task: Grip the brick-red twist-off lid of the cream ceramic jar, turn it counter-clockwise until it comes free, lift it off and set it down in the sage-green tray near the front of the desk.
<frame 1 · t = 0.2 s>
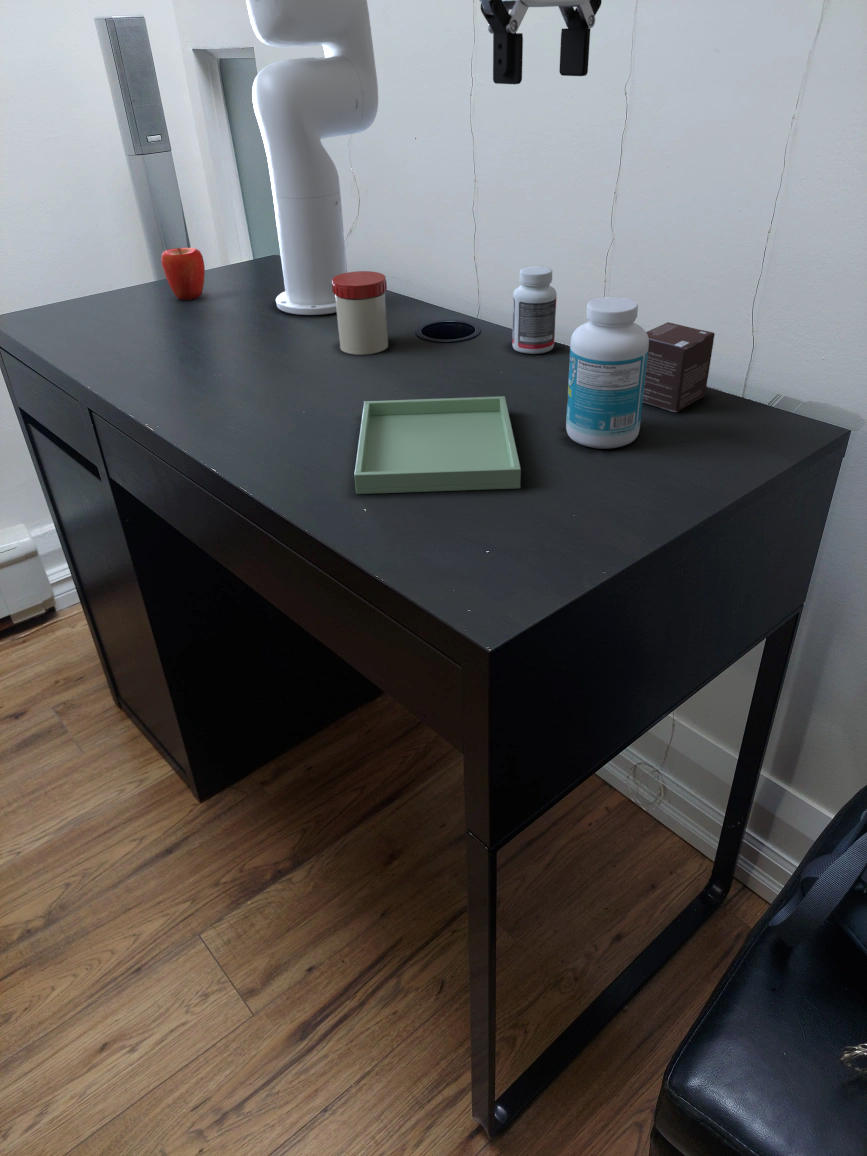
hand: (541, 79, 82), 31 cm above the table, tool pointing down, fingers open, 9 cm apart
jar: (364, 346, 111), on the table
apple: (189, 298, 133), on the table
cap: (359, 280, 107), point 8 cm above the table, screwed on, not yet turned
tray: (436, 450, 85), on the table
box: (667, 400, 94), on the table
pill bottle: (533, 349, 109), on the table
pill bottle 2: (601, 437, 87), on the table
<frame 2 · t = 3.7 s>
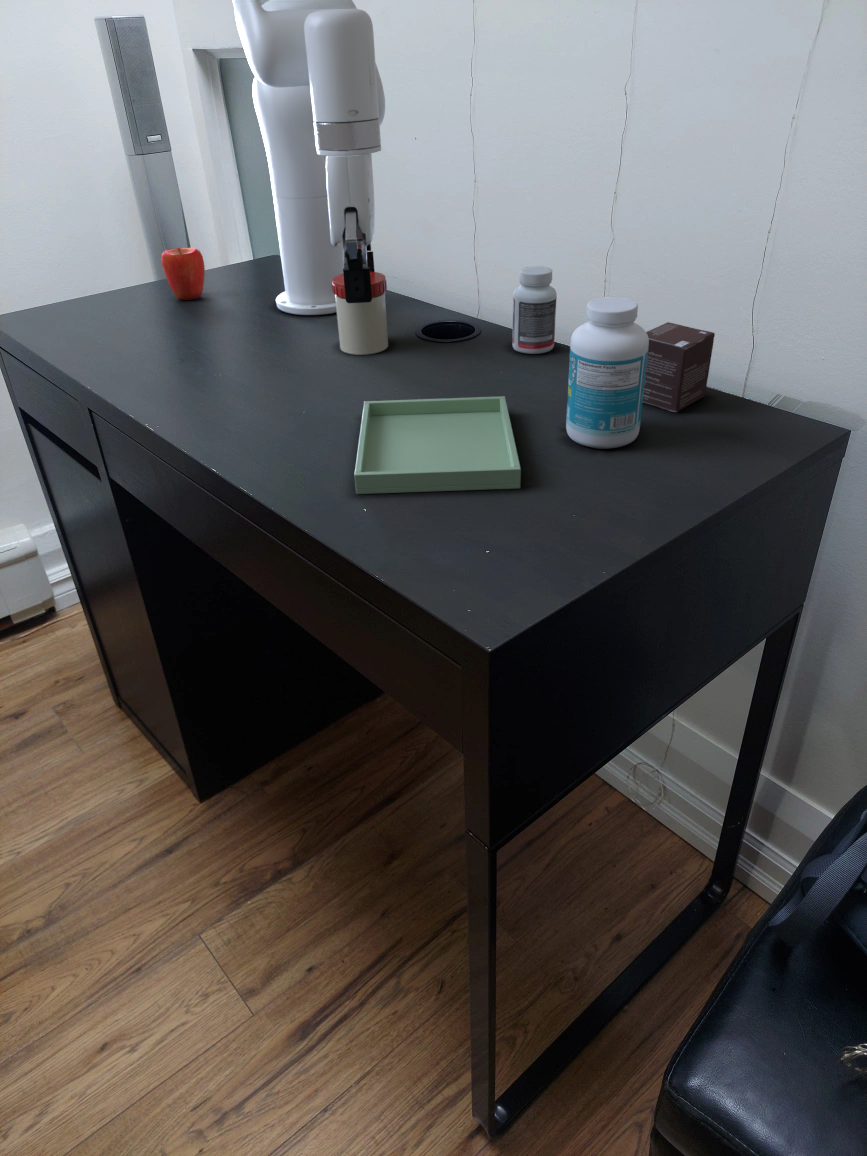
hand: (361, 292, 107), 7 cm above the table, tool pointing down, fingers open, 7 cm apart
nothing on the table moved.
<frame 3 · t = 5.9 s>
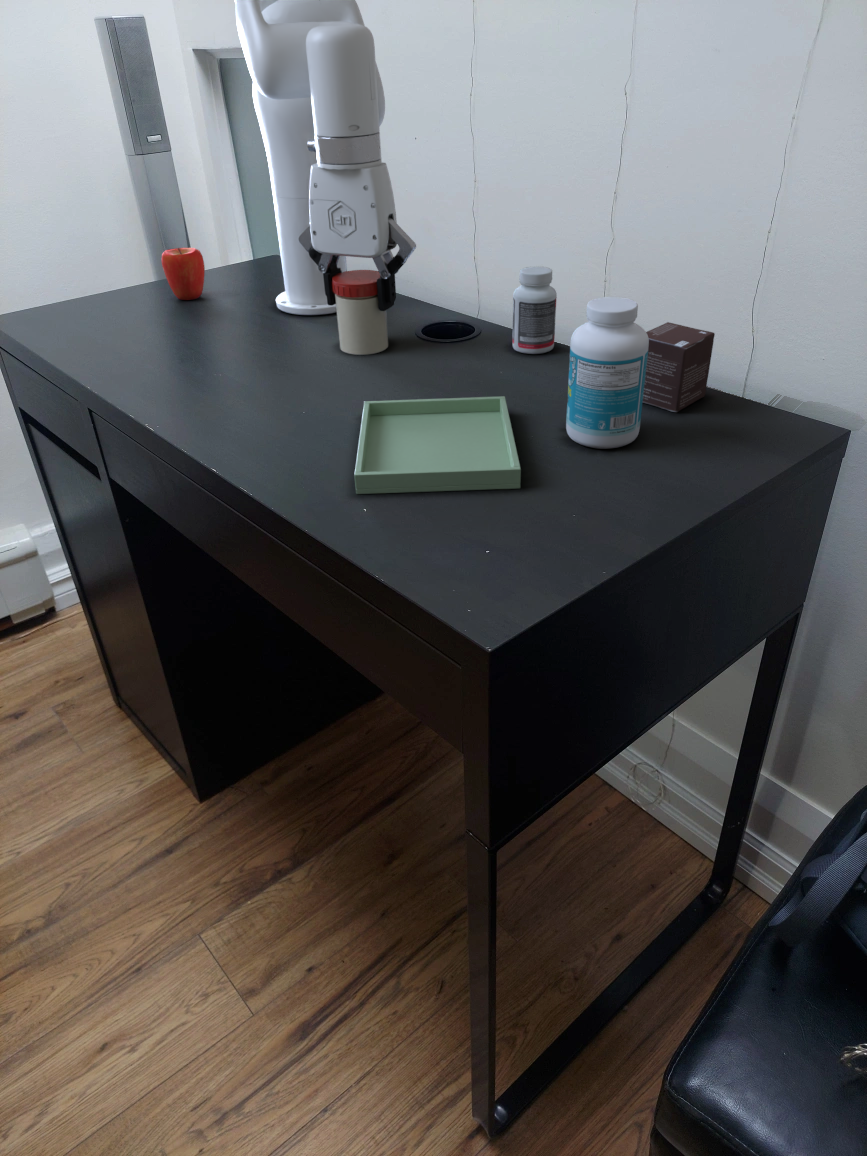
hand: (360, 304, 108), 6 cm above the table, tool pointing down, fingers closed on cap, 6 cm apart
cap: (358, 279, 107), point 9 cm above the table, turned 65° so far, risen 0.2 cm, still on its thread, touching gripper
everything else where it was.
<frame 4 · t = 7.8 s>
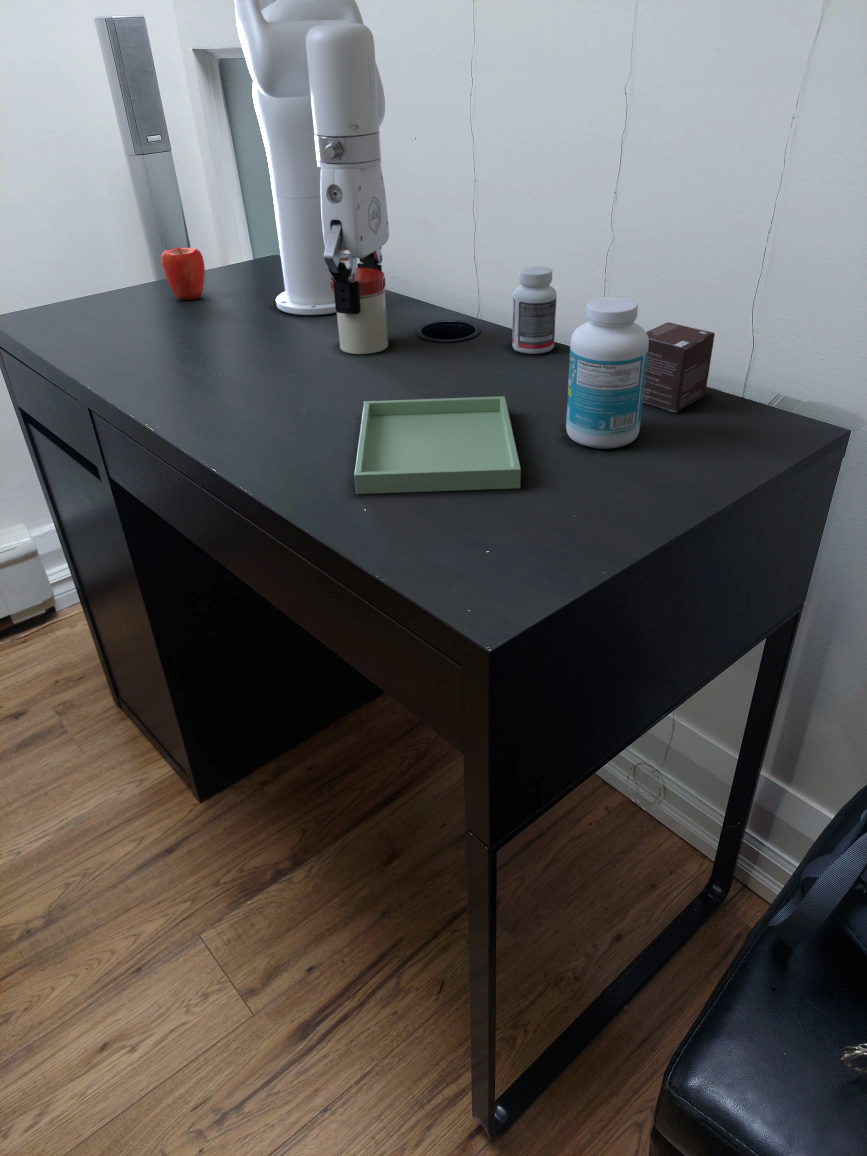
hand: (360, 302, 108), 6 cm above the table, tool pointing down, fingers closed on cap, 6 cm apart
jar: (364, 346, 111), on the table, touching gripper
cap: (357, 277, 107), point 9 cm above the table, off its thread, touching gripper
everything else where it was.
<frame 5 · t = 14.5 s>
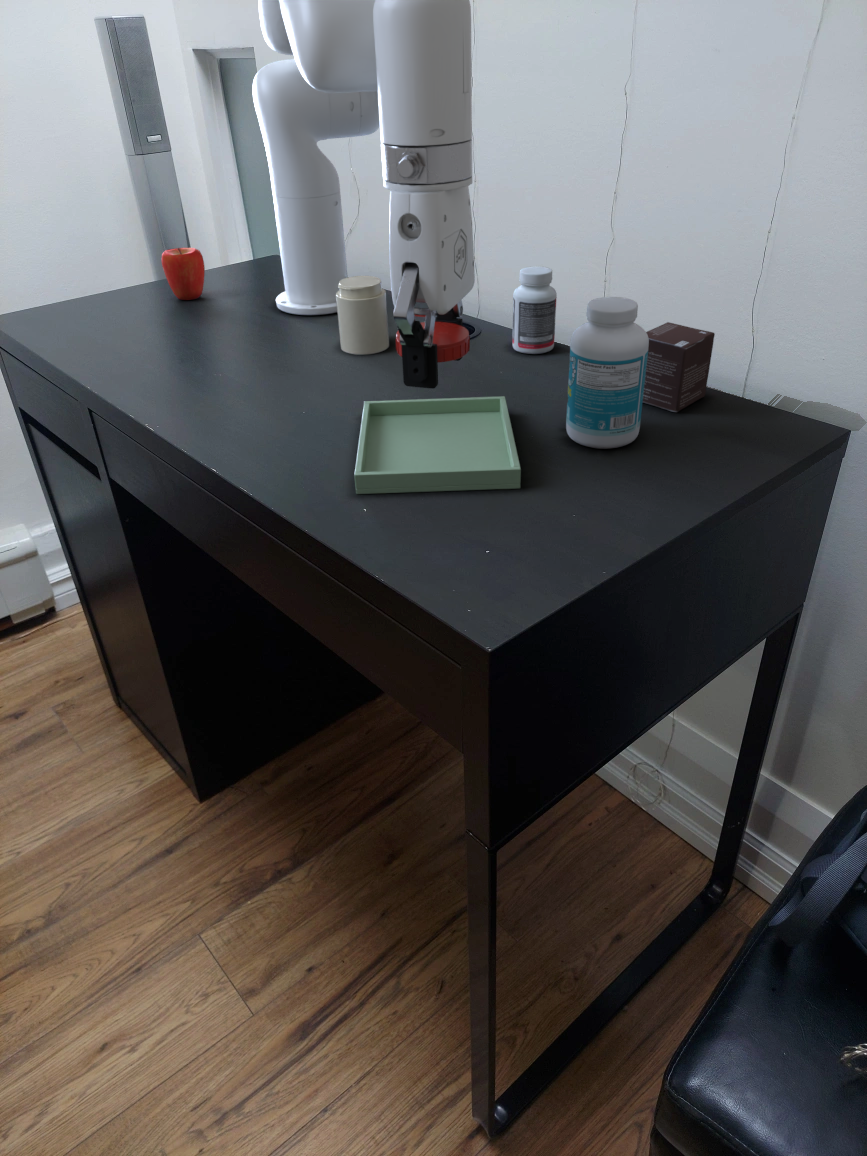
hand: (434, 370, 80), 8 cm above the table, tool pointing down, fingers closed on cap, 6 cm apart
jar: (365, 346, 112), on the table
cap: (432, 336, 78), point 12 cm above the table, off its thread, touching gripper
everything else where it was.
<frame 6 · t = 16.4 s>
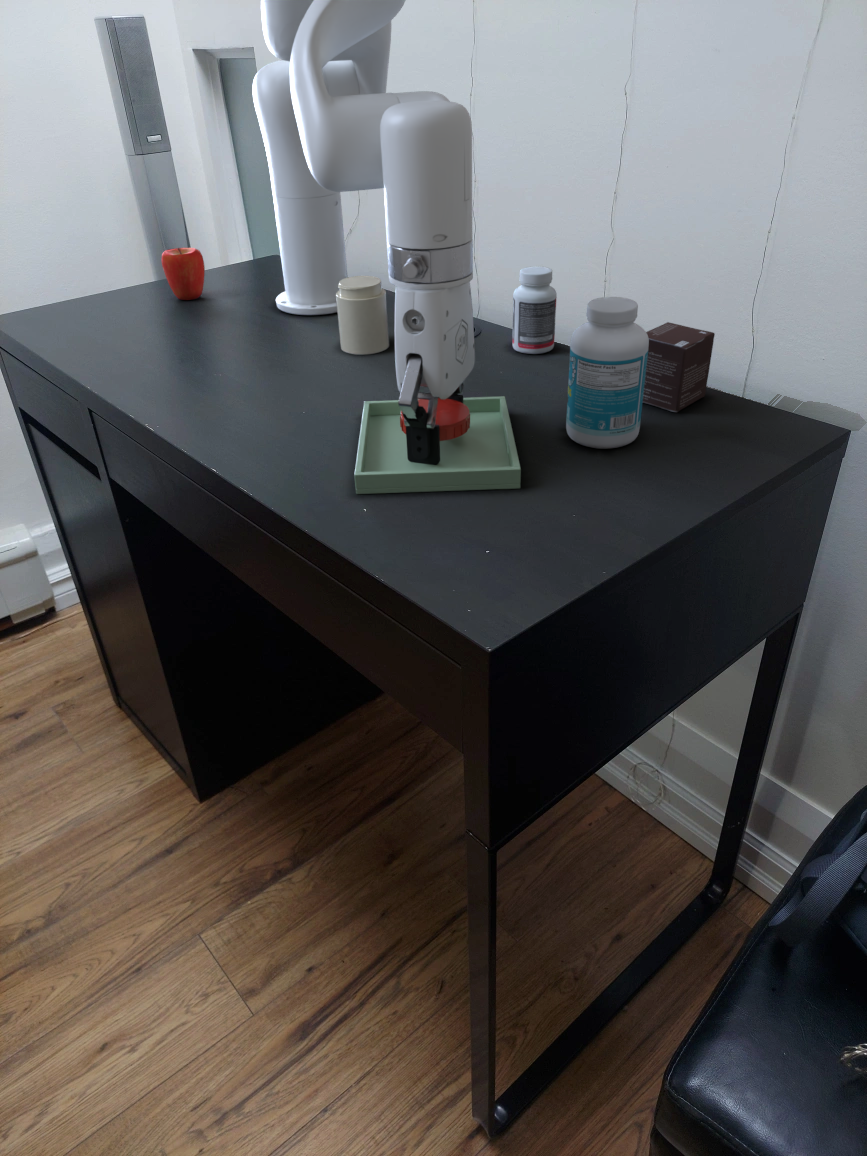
hand: (436, 444, 85), 1 cm above the table, tool pointing down, fingers closed on cap, 6 cm apart
cap: (435, 414, 83), point 4 cm above the table, off its thread, touching gripper
everything else where it was.
when the fingers open (1 cm above the table, at t = 24.5 s): cap drops 3 cm, resting on tray.
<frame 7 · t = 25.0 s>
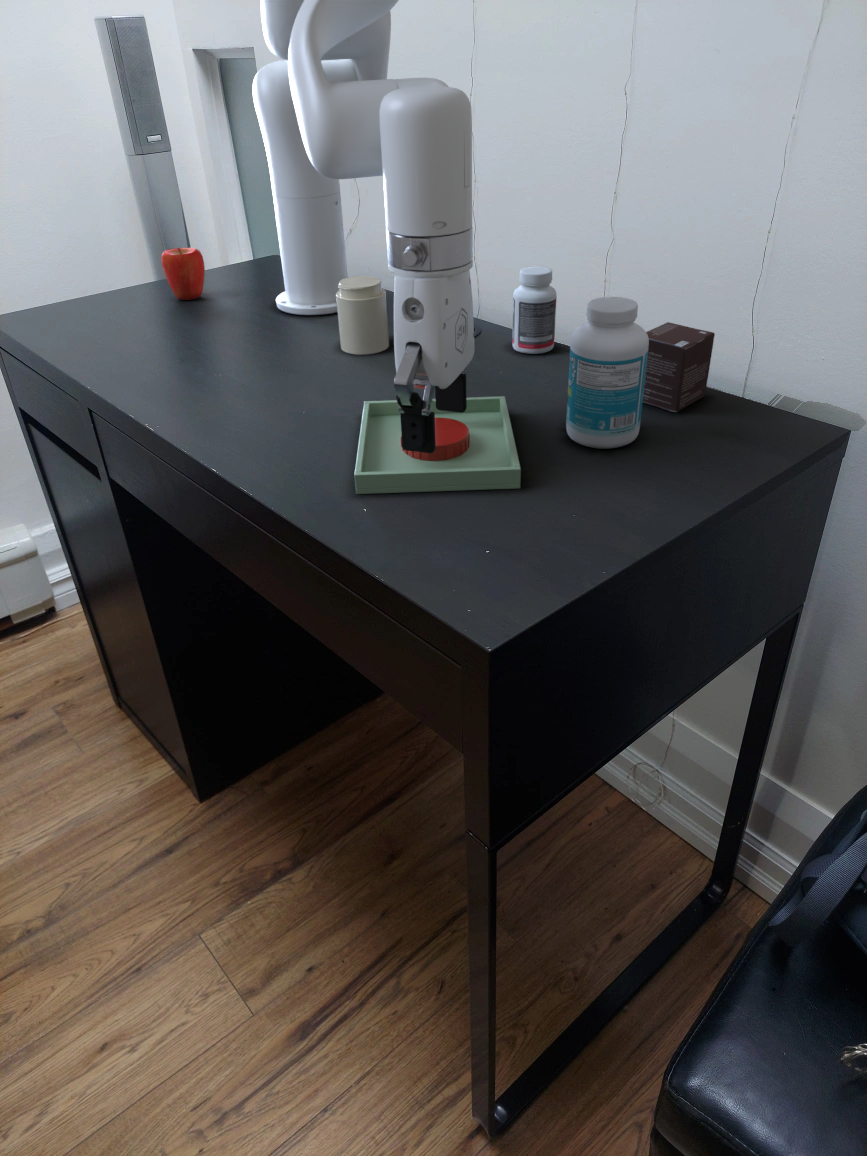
hand: (435, 429, 84), 2 cm above the table, tool pointing down, fingers open, 9 cm apart
cap: (435, 434, 84), point 2 cm above the table, off its thread, touching tray
everything else where it was.
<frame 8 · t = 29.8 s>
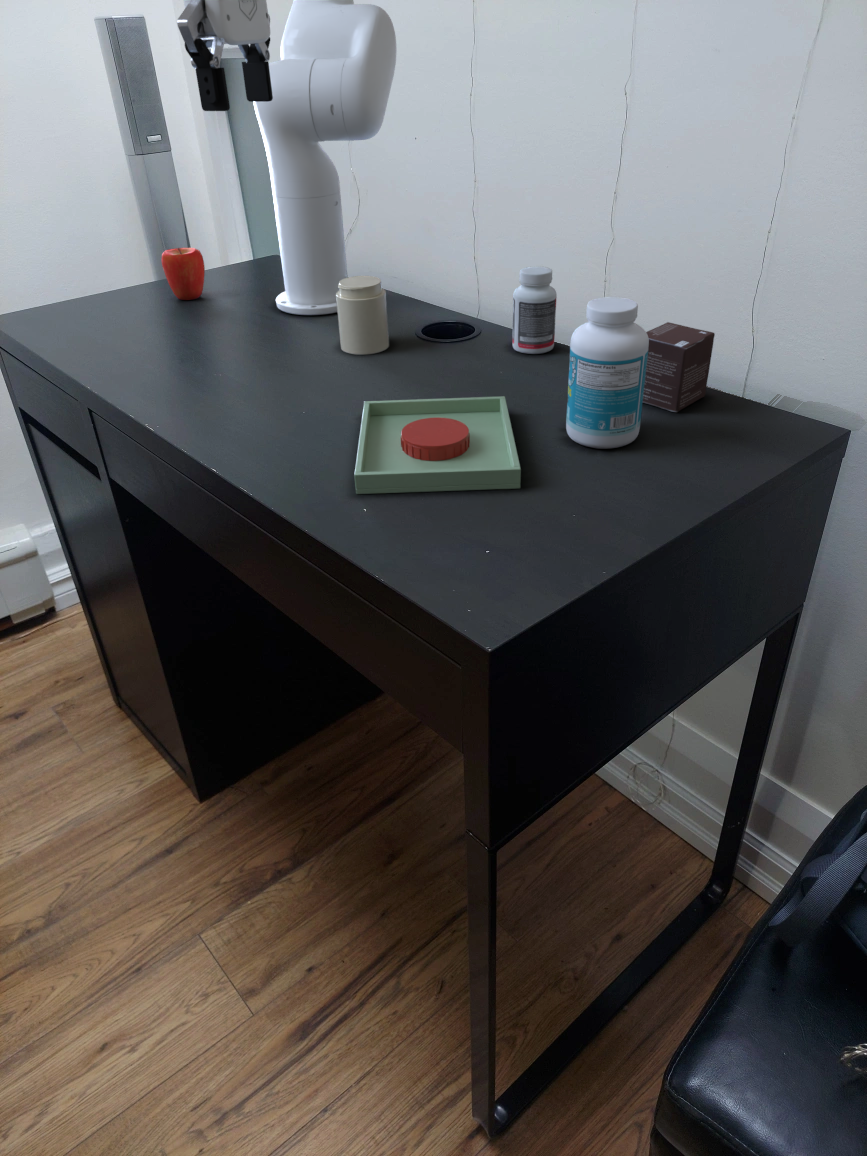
hand: (239, 105, 96), 28 cm above the table, tool pointing down, fingers open, 9 cm apart
nothing on the table moved.
at the end: cap came off its thread; cap inside the target area in the tray (0.1 cm from its centre), point 1.8 cm above the tray's base; the gripper is holding nothing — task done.
